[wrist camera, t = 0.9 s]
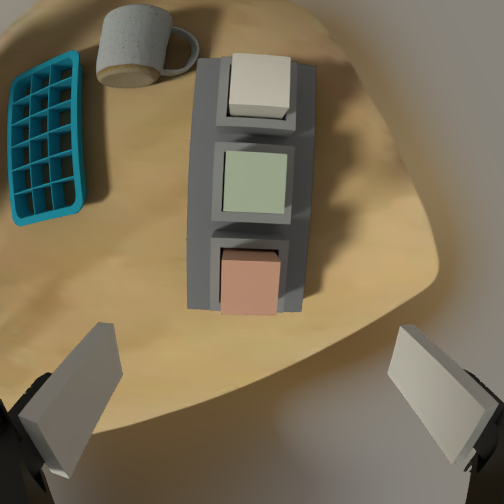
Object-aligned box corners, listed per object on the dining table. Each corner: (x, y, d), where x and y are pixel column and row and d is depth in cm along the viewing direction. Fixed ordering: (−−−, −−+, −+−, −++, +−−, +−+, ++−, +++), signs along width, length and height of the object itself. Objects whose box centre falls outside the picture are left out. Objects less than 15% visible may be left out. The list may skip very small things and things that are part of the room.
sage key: (225, 207, 26) (223, 211, 21) (228, 156, 25) (226, 150, 20) (276, 209, 26) (284, 214, 22) (278, 159, 25) (287, 154, 21)
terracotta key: (223, 294, 28) (220, 314, 23) (224, 247, 27) (221, 259, 22) (270, 295, 28) (276, 315, 23) (273, 249, 27) (280, 262, 22)
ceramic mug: (108, 95, 28) (79, 75, 20) (118, 37, 26) (95, 8, 18) (197, 87, 28) (188, 61, 21) (203, 28, 27) (197, -7, 19)
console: (191, 298, 33) (181, 325, 27) (201, 68, 28) (192, 41, 21) (296, 301, 34) (309, 328, 27) (309, 75, 28) (326, 51, 22)
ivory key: (230, 117, 24) (229, 103, 20) (233, 73, 23) (232, 53, 19) (280, 120, 24) (289, 107, 20) (282, 76, 23) (290, 57, 19)
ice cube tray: (27, 224, 31) (13, 227, 28) (23, 84, 26) (10, 79, 23) (96, 209, 31) (84, 211, 28) (90, 55, 26) (79, 46, 24)
